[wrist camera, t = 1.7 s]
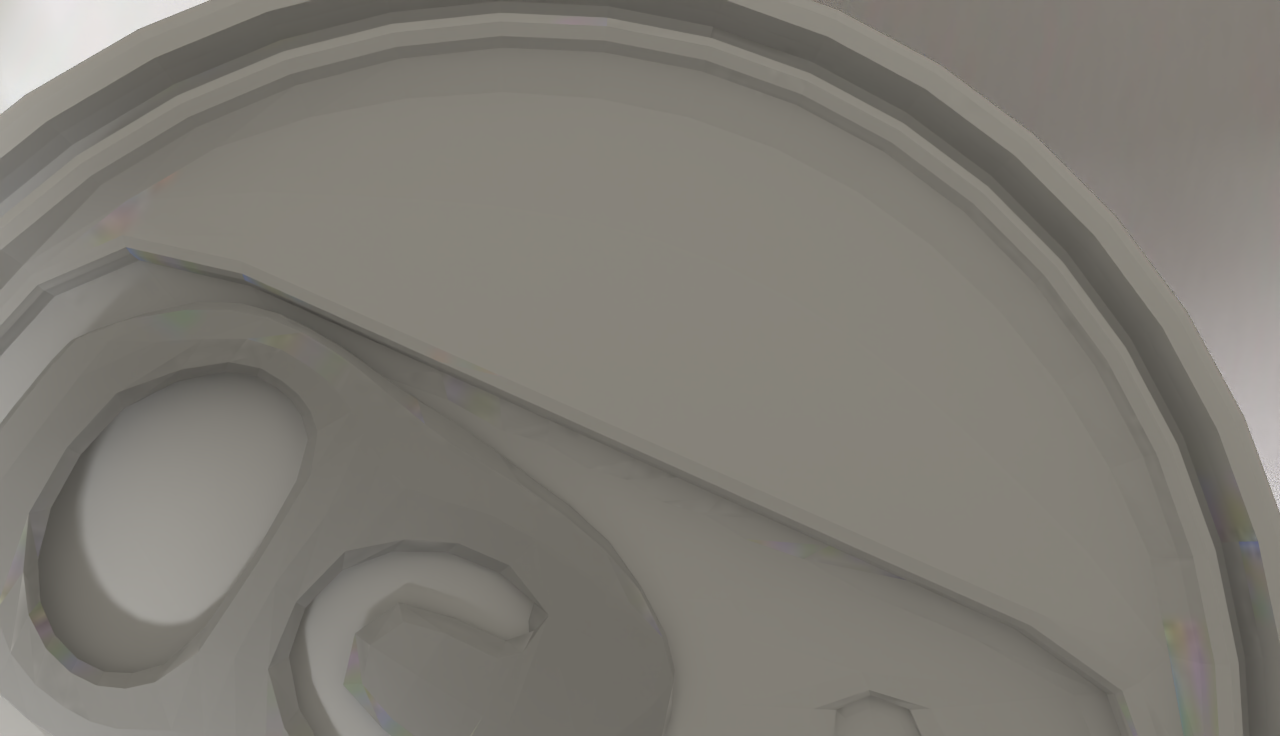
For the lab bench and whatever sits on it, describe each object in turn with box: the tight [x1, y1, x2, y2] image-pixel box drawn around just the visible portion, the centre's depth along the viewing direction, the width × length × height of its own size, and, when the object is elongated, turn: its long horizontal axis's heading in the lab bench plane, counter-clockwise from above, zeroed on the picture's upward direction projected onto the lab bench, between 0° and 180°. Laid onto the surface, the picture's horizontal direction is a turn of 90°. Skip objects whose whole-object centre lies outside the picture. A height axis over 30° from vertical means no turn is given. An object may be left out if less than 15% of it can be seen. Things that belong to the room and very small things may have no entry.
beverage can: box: [0, 0, 1280, 736], centre depth 10 cm, size 5×5×15 cm
